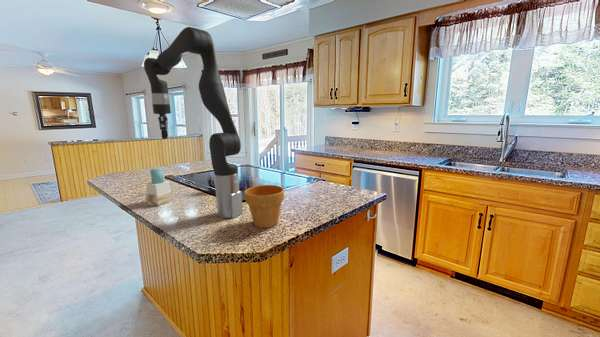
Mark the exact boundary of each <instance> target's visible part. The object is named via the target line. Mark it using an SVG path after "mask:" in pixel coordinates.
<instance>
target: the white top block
mask: <svg viewBox="0 0 600 337" xmlns="http://www.w3.org/2000/svg"><path fill="white" fill-rule="evenodd" d="M145 185H146V192H147V193H146V194H151V195H156V196H158V195H162V194H165V193H168V192H171V182H170V180H164V182H163V183H159V184H152V181H151V182H147V183H146V184H145Z"/></svg>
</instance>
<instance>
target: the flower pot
mask: <svg viewBox="0 0 600 337" xmlns="http://www.w3.org/2000/svg"><path fill="white" fill-rule="evenodd" d="M244 197H245V198H244V199H245V203H246V204H248V207H249V211H250V214H251V218H252V221H253V225H254V226H255V227H257V228H262V229H265V228H266V229H267V228H268V229H269V228H273V227H275V226H277V225H278V224H279V220H280V213H281V206H282V202H283V201H284V199H285V190H284V188H283V187H282V186H280V185H274V184H262V185H255V186H251V187H248V188H247V189H245V190H244Z"/></svg>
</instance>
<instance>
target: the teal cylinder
mask: <svg viewBox="0 0 600 337" xmlns="http://www.w3.org/2000/svg"><path fill="white" fill-rule="evenodd" d="M149 171H150V179H151V182H152V184H159V183H163V182H164V181H165V179H164V172H163V168H153V169H150V170H149Z"/></svg>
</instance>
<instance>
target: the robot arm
mask: <svg viewBox="0 0 600 337" xmlns="http://www.w3.org/2000/svg"><path fill="white" fill-rule="evenodd" d="M184 53H185V54H186V53H190V54H195V55H200V57H201V62H202V66H203V67H202V68H203V69H202V73H201V75H200V77H199V82H198V90H199V94H200V99H201V101H202V103H203V105H204V107H205V108H206V110H208V112H209V113H210V114H211V115H212V116H213V117H214V118H215V119H216V121H217V122H218V123H219V125H220V128H221V130H222V132H218V133H212V134H211V135H210V138H209V142H208V143H209V144H208V145H209V147H208V148H209V151H210V152H209V153H210V160H211V166H212V170H213V176H214V187H215V199H216V211H217V212H216V213H217V216H218V217H219V218H222V219H234V218H236V217H238V216H241V215H242V214H244V212H243V199H242V198H243V194H242V191H241V190H240V182H239V181H240V180H239V168H238V165H236V164H234V163H229V162H227V157H230V156H236V155H238V154H239V153H240V152H241V146H242V144H241V139H240V135H239V133H238V131H237V127H236V125H235V123H234V119H233V117H232V114H231V111H230V108H229V105H228V101H227V96H226V93H225V89H224V85H223V82H222V78H221V73H220V70H219V67H218V62H217V56H216V51H215V45H214V42H213V38H212V36H211V34H210V33H209V32H208V31H206V30H203V29H201V28H195V27H193V26H187V27H185V28H183V29H182V30H181V31H180V32H179V33H178V35H177V36H176V38H175V39H173V41H172V43H171V44H170V45H169V47H167V48H166V49H164V50H163V51H161V52H160V53H159V54H158V55H157V56H156V58H154V57H147V58H146V59H145V60H144V61H143V69H144V71H145V74H146V76H147V79H148V82H149V84H150V85H149V86H150V90H151V105H152V111H153V112H152V113H153V114H154V115H159V116H158V118H157V121H158V125H159V129H160V131H161V139H162V140H167V139H168V136H169V133H168V127H169V121H168V120H169V118H168V117H167V114H168V115H170V114H172V109H171V102H170V101H171V100H170V96H169V88H168V83H167V81H166V80H163V79H160V78H159V77H158V76H167V75H168V74H170V72H171V70H172V69H173V68H174V67H175V66H177V65H179V63H181V61H182V60H183V59H182V57H183V54H184Z"/></svg>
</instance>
